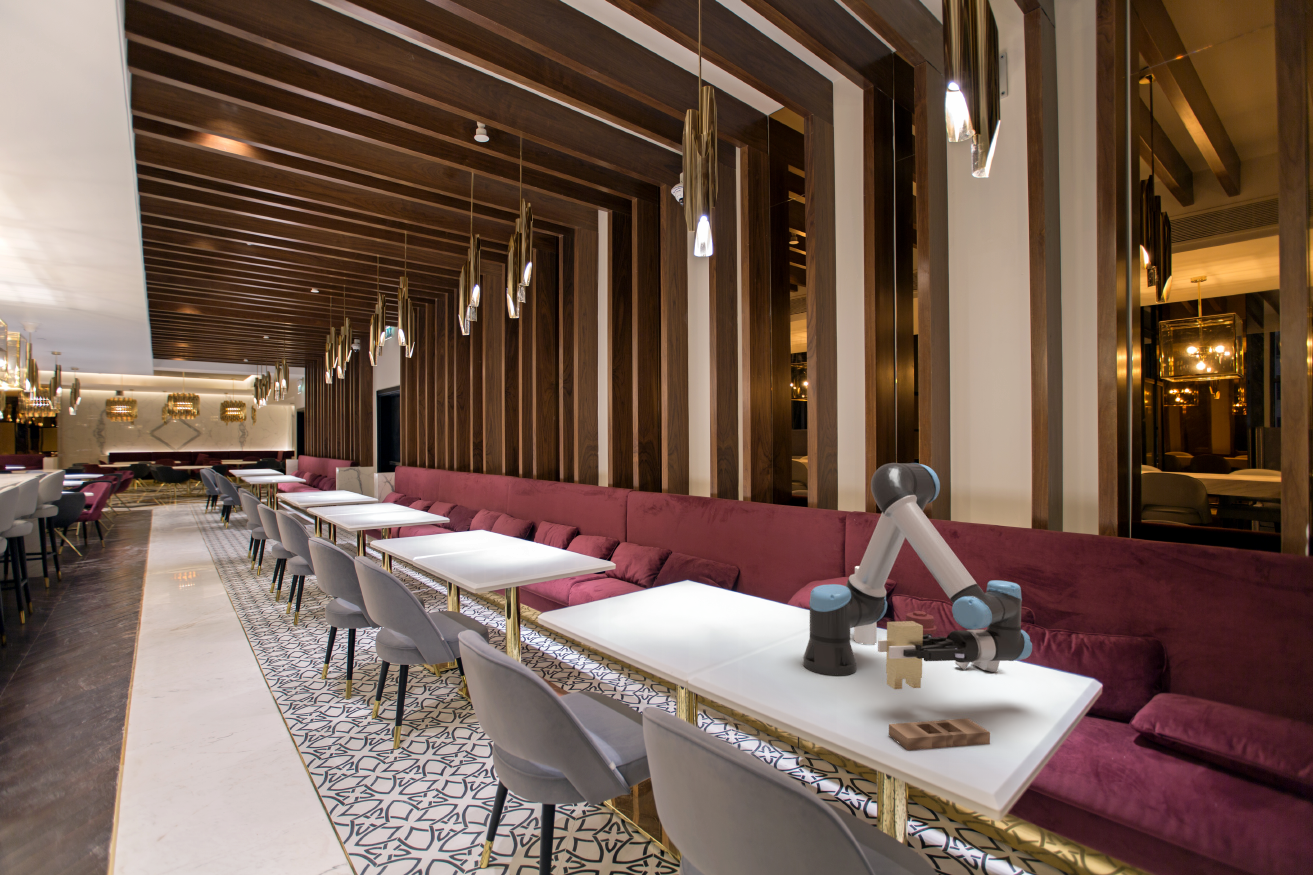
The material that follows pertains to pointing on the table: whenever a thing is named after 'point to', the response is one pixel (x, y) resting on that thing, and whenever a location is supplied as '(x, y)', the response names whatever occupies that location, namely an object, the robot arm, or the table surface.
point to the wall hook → (982, 665)
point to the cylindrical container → (865, 630)
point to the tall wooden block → (904, 667)
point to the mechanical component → (923, 621)
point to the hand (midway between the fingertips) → (884, 649)
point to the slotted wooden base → (939, 734)
